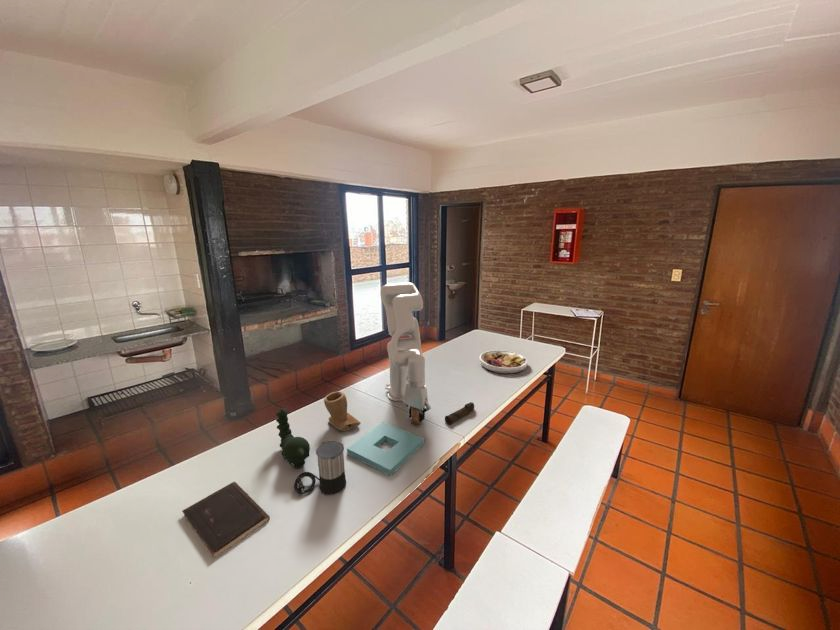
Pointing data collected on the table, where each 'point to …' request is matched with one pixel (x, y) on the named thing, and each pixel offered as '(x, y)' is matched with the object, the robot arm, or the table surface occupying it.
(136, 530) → the table surface
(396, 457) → the square hole plate
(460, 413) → the hand tool
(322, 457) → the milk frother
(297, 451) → the toy figurine
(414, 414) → the cylinder
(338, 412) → the tan boot-shaped piece
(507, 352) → the bowl
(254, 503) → the hardcover book
